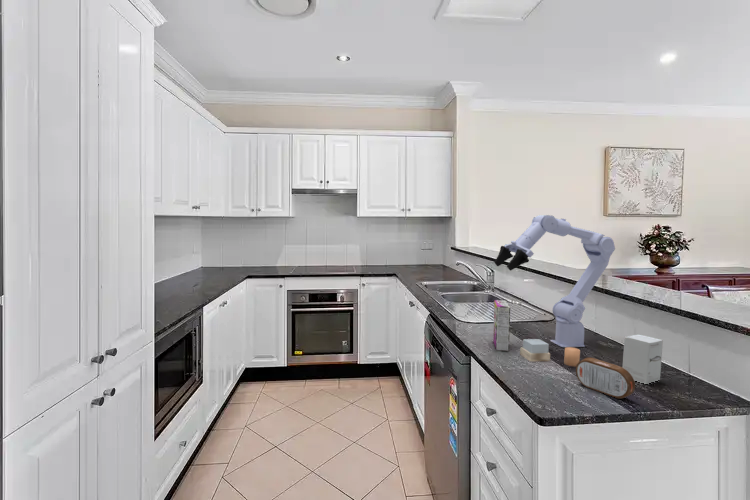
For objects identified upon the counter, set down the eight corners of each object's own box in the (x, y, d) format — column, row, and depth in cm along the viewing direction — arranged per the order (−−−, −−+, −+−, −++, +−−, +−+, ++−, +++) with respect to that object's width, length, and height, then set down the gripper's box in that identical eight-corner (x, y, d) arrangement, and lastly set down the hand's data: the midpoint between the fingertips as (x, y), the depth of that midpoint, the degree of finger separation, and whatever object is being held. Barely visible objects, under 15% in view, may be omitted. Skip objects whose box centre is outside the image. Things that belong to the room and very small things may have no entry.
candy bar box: (492, 341, 156) (493, 299, 154) (505, 342, 155) (507, 300, 153) (494, 350, 145) (496, 305, 144) (509, 351, 144) (511, 306, 143)
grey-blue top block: (538, 347, 141) (539, 339, 141) (548, 353, 135) (548, 344, 135) (522, 347, 140) (523, 339, 140) (531, 353, 134) (531, 344, 134)
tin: (634, 401, 105) (636, 370, 105) (628, 404, 104) (630, 372, 103) (579, 381, 118) (580, 353, 117) (573, 383, 116) (574, 355, 116)
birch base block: (538, 355, 142) (539, 346, 142) (549, 362, 135) (550, 353, 135) (520, 355, 141) (520, 347, 141) (530, 362, 134) (530, 354, 134)
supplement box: (646, 386, 115) (649, 343, 114) (620, 376, 122) (623, 336, 121) (661, 381, 119) (664, 339, 118) (635, 373, 125) (637, 333, 124)
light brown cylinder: (573, 361, 135) (574, 346, 134) (582, 366, 130) (583, 351, 130) (561, 361, 134) (561, 347, 134) (569, 366, 130) (570, 351, 129)
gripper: (509, 230, 152) (485, 255, 151) (534, 234, 138) (508, 262, 137) (519, 243, 154) (495, 268, 153) (545, 249, 141) (519, 276, 139)
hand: (502, 266), depth 145 cm, fingers open, 7 cm apart
